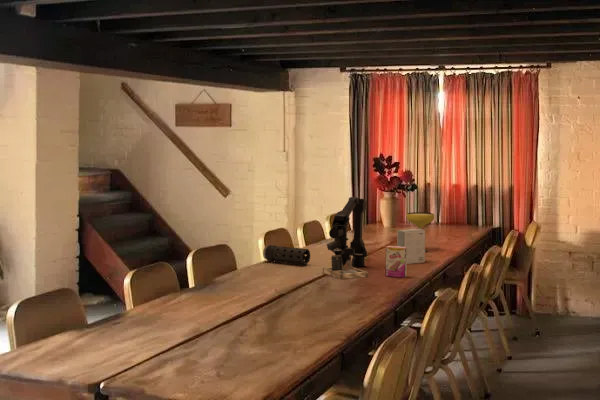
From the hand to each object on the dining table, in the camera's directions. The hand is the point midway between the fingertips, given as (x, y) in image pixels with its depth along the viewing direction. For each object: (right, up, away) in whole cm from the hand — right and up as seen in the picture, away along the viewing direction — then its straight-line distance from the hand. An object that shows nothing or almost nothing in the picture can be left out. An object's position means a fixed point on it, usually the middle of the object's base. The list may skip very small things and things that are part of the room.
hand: (341, 264), depth 413 cm
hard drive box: (+44, -3, +37) cm, 58 cm away
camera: (+1, -5, 0) cm, 5 cm away
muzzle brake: (-31, -3, +29) cm, 43 cm away
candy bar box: (+29, -6, -8) cm, 31 cm away
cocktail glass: (+57, +1, +82) cm, 100 cm away
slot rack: (+2, -5, -4) cm, 7 cm away
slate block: (+4, -6, -8) cm, 11 cm away
